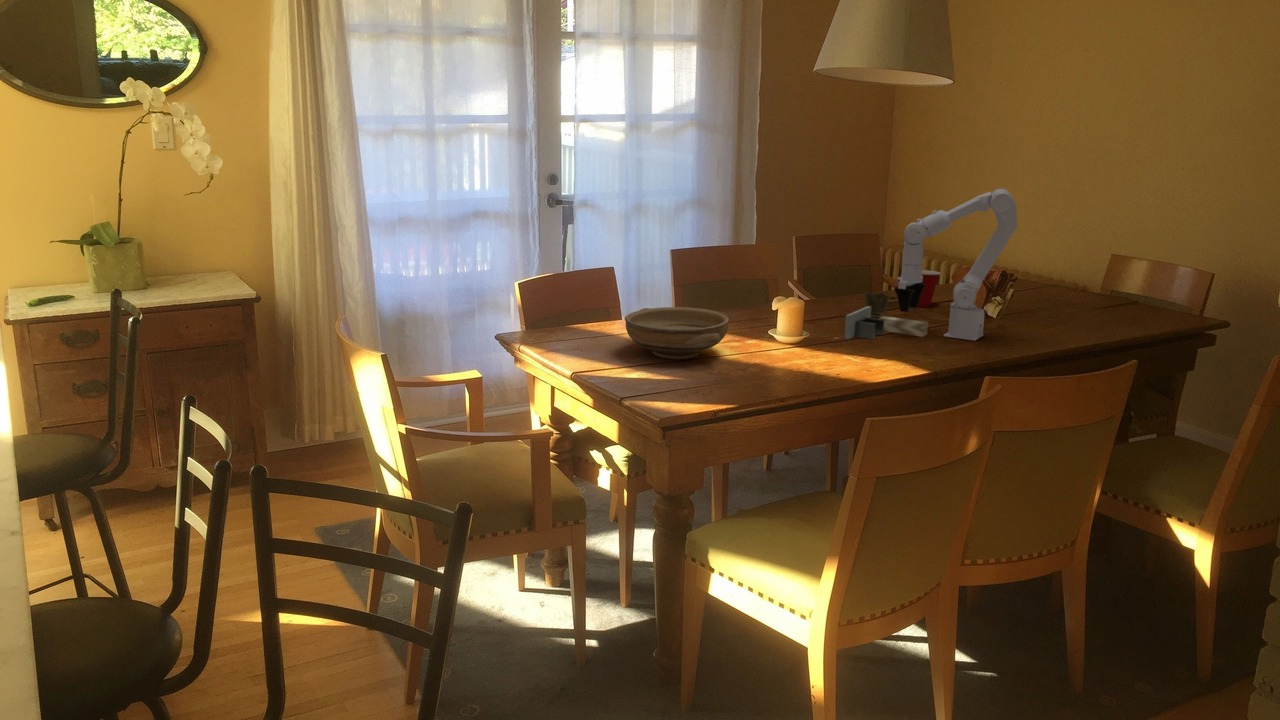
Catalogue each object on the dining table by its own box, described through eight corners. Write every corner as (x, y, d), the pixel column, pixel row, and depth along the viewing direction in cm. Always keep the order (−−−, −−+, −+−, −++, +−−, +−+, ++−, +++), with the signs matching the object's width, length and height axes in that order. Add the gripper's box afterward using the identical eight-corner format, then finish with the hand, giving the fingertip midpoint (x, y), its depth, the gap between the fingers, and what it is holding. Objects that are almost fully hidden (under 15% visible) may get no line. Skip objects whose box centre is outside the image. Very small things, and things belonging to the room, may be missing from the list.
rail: (927, 335, 301) (928, 322, 300) (922, 337, 299) (923, 324, 298) (883, 328, 310) (883, 316, 309) (878, 330, 307) (878, 318, 306)
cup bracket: (883, 334, 301) (884, 319, 300) (873, 339, 295) (874, 324, 294) (864, 331, 304) (865, 317, 303) (854, 336, 299) (855, 321, 297)
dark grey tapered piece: (885, 316, 325) (887, 291, 323) (888, 321, 318) (890, 296, 316) (861, 315, 326) (863, 291, 324) (864, 320, 319) (866, 295, 317)
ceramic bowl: (600, 344, 289) (599, 310, 287) (686, 333, 302) (686, 300, 300) (664, 375, 258) (664, 337, 255) (757, 362, 271) (758, 325, 268)
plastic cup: (942, 304, 343) (945, 269, 340) (932, 310, 334) (935, 274, 331) (910, 301, 349) (913, 266, 346) (900, 306, 340) (903, 271, 337)
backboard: (869, 329, 308) (871, 306, 306) (848, 339, 295) (849, 315, 293) (866, 328, 308) (867, 306, 307) (844, 338, 296) (845, 315, 294)
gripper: (908, 259, 306) (904, 303, 309) (889, 266, 294) (886, 311, 298) (930, 261, 302) (927, 306, 305) (913, 268, 290) (909, 314, 294)
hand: (908, 309), depth 301 cm, fingers open, 7 cm apart
